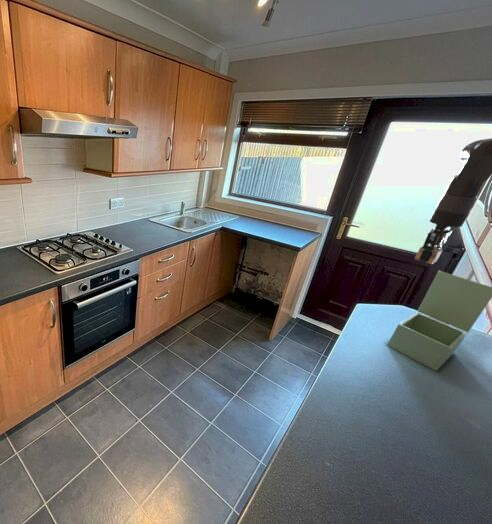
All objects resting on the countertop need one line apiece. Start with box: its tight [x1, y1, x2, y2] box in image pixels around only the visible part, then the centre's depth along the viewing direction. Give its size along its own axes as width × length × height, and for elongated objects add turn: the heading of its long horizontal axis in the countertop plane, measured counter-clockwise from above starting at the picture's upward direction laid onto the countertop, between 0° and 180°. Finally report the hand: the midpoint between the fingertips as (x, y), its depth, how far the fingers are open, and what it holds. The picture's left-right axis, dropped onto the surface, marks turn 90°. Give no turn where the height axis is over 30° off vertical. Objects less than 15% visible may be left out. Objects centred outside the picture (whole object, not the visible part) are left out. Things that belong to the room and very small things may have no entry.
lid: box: [417, 270, 492, 333], centre depth 89 cm, size 16×13×6 cm
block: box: [414, 245, 444, 265], centre depth 93 cm, size 4×4×4 cm
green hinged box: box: [386, 311, 468, 372], centre depth 91 cm, size 16×13×9 cm
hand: (425, 259), depth 94 cm, fingers closed on block, 4 cm apart
